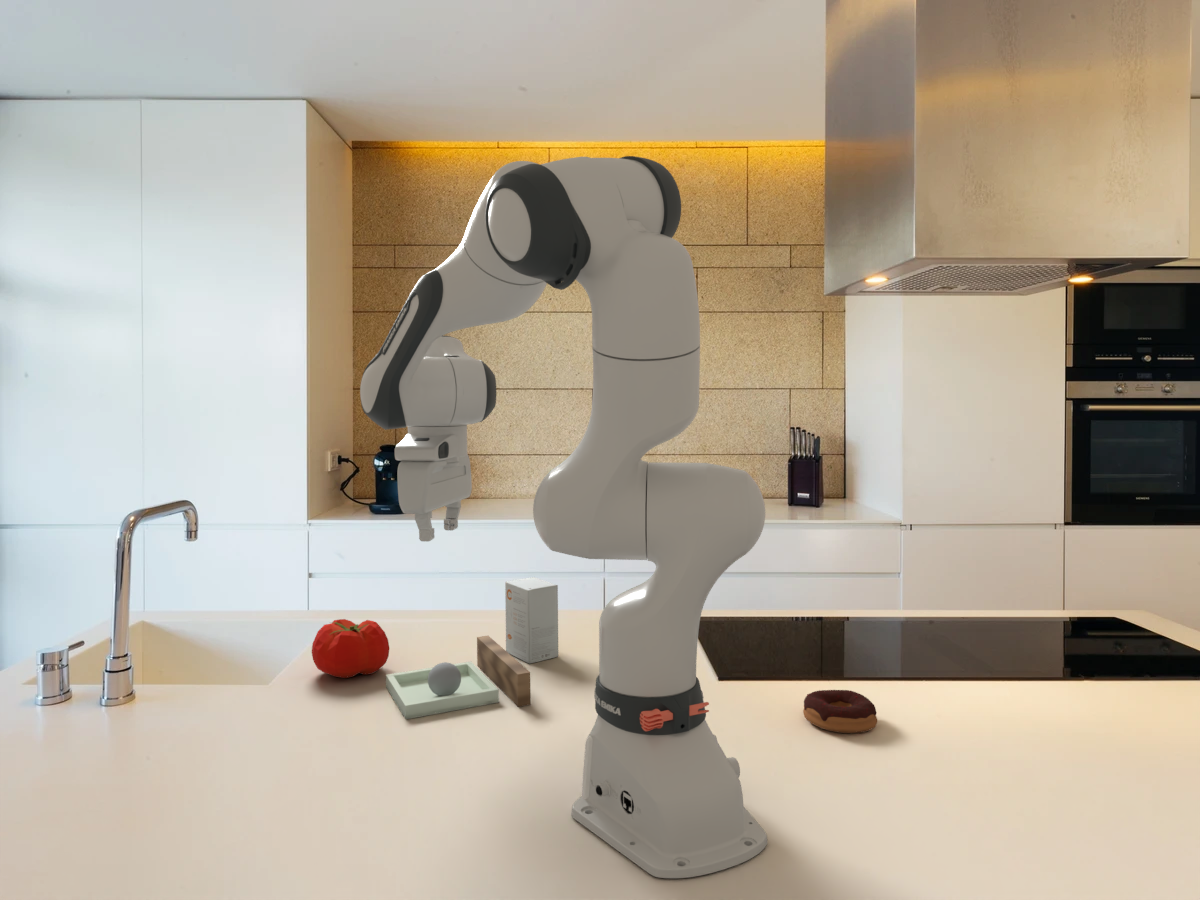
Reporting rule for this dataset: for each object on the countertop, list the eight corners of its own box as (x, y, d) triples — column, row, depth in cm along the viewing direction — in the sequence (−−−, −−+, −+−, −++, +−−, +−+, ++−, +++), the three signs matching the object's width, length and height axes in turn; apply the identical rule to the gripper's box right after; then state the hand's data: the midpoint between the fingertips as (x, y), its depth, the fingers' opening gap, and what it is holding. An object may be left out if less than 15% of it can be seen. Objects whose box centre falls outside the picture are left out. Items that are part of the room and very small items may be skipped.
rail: (530, 704, 120) (530, 672, 120) (518, 707, 119) (517, 674, 119) (488, 663, 138) (488, 635, 138) (477, 665, 137) (476, 637, 137)
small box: (559, 657, 142) (558, 584, 141) (528, 664, 138) (528, 590, 137) (534, 645, 148) (534, 576, 147) (504, 652, 144) (504, 581, 143)
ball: (463, 689, 125) (471, 672, 122) (440, 708, 122) (448, 691, 118) (441, 667, 127) (448, 650, 124) (418, 686, 123) (424, 668, 120)
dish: (498, 702, 121) (498, 689, 121) (405, 719, 115) (405, 705, 115) (471, 673, 134) (471, 661, 134) (386, 686, 128) (385, 674, 127)
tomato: (294, 681, 130) (292, 630, 129) (342, 657, 142) (341, 610, 141) (360, 691, 126) (359, 638, 125) (404, 665, 138) (403, 616, 137)
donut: (876, 714, 117) (877, 687, 117) (877, 742, 108) (878, 713, 107) (805, 706, 120) (805, 680, 120) (800, 732, 111) (801, 704, 110)
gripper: (444, 440, 132) (445, 523, 133) (388, 449, 112) (390, 546, 113) (480, 440, 131) (481, 524, 132) (431, 449, 111) (432, 548, 112)
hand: (439, 535), depth 122 cm, fingers open, 8 cm apart
